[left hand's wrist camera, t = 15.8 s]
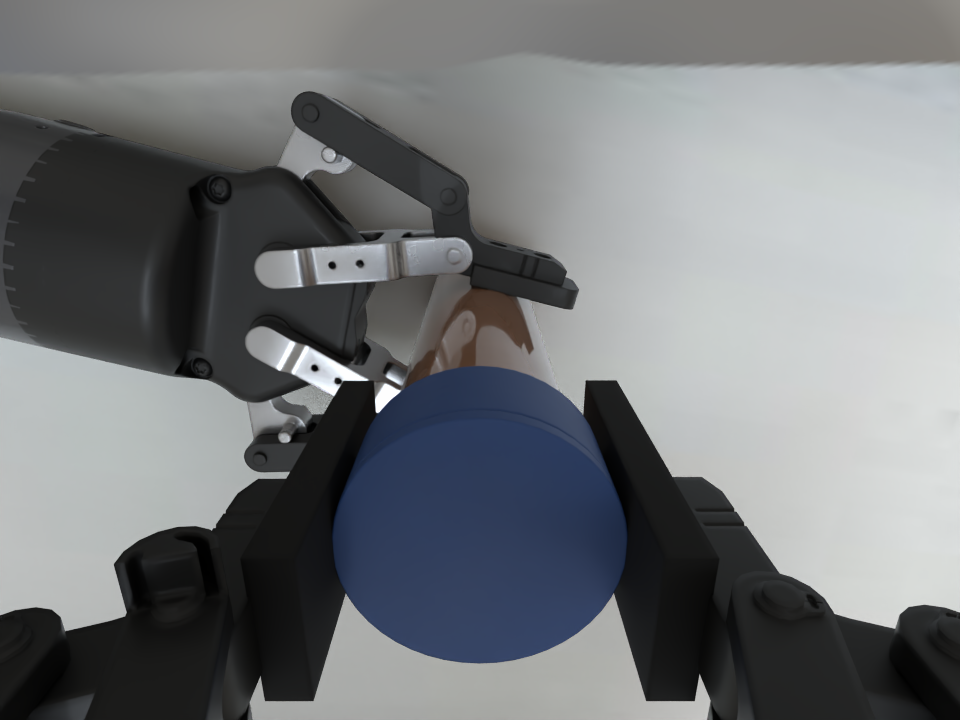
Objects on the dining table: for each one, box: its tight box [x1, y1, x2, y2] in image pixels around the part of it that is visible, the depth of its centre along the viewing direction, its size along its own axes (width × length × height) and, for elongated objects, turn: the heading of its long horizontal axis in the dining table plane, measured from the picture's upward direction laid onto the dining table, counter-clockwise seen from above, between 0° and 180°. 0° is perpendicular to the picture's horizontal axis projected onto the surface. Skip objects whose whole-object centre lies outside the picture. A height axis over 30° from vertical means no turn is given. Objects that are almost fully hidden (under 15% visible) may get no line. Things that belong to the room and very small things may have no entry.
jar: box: [400, 274, 560, 392], centre depth 19 cm, size 4×4×17 cm
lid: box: [332, 366, 628, 663], centre depth 11 cm, size 5×5×2 cm
